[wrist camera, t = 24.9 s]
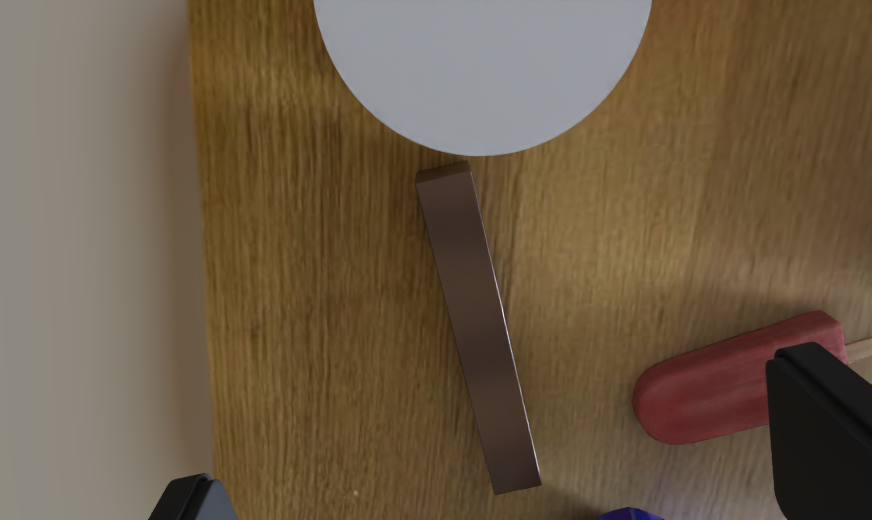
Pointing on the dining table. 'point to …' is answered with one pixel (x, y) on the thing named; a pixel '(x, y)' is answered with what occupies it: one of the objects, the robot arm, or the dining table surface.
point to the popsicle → (728, 380)
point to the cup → (481, 65)
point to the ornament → (628, 515)
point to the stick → (478, 323)
